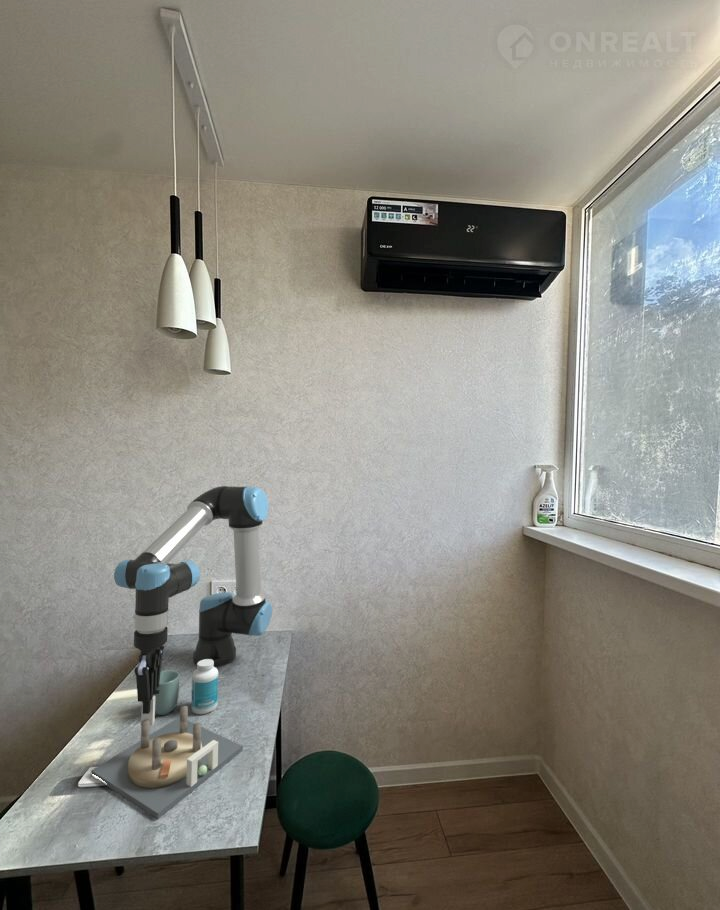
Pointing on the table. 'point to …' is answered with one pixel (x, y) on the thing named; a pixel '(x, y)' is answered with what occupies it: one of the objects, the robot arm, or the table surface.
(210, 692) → the pill bottle
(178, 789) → the stand
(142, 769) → the disc
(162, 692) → the cup
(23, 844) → the table surface
